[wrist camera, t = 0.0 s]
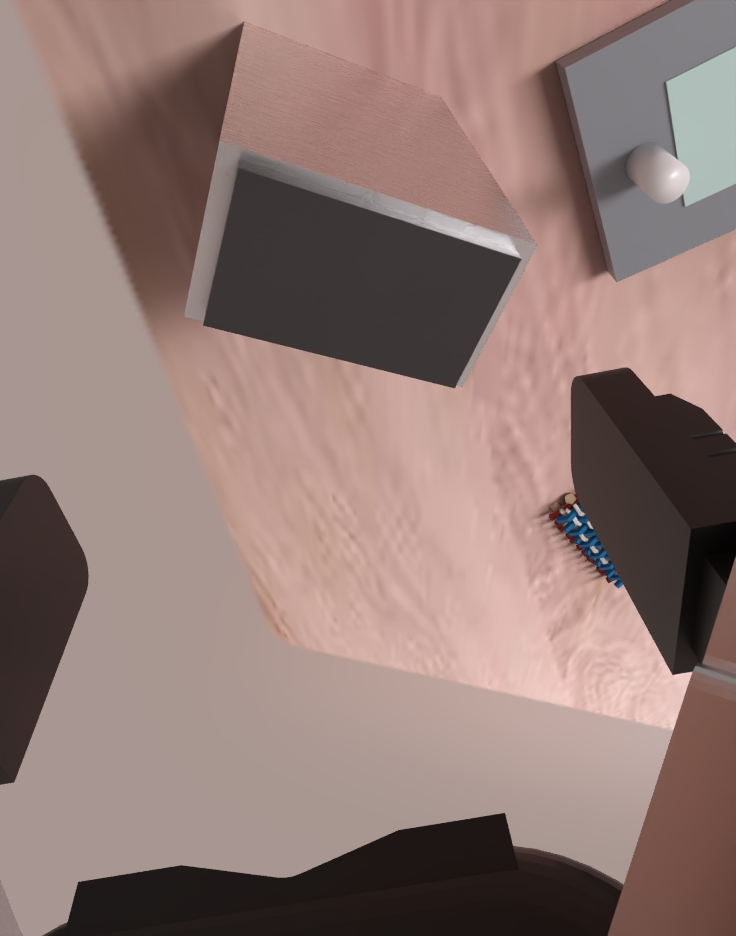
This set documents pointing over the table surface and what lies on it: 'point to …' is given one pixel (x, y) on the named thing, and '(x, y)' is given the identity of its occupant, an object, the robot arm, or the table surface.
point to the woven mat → (583, 536)
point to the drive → (352, 218)
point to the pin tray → (657, 131)
